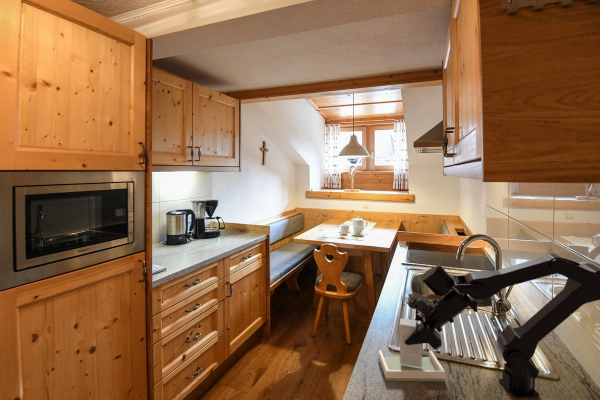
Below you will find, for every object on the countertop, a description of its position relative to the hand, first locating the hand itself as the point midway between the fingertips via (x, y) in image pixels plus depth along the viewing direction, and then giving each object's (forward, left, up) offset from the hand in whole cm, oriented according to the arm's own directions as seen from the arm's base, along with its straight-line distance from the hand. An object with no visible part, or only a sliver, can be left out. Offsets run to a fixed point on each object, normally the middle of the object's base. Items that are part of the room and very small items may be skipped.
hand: (405, 339), depth 92 cm
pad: (-1, +1, -9) cm, 9 cm away
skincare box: (-1, +1, -7) cm, 7 cm away
